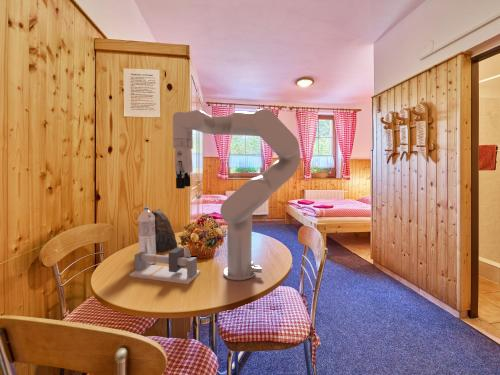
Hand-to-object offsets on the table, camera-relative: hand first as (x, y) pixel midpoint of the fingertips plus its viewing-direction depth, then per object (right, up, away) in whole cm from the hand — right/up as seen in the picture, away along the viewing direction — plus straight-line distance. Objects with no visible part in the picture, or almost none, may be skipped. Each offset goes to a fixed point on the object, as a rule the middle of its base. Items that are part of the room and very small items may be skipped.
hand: (183, 187), depth 100 cm
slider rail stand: (-6, -34, -2) cm, 35 cm away
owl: (-18, -32, +29) cm, 47 cm away
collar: (-2, -32, -4) cm, 32 cm away
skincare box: (-1, -33, +19) cm, 38 cm away
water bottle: (-18, -34, +9) cm, 39 cm away
